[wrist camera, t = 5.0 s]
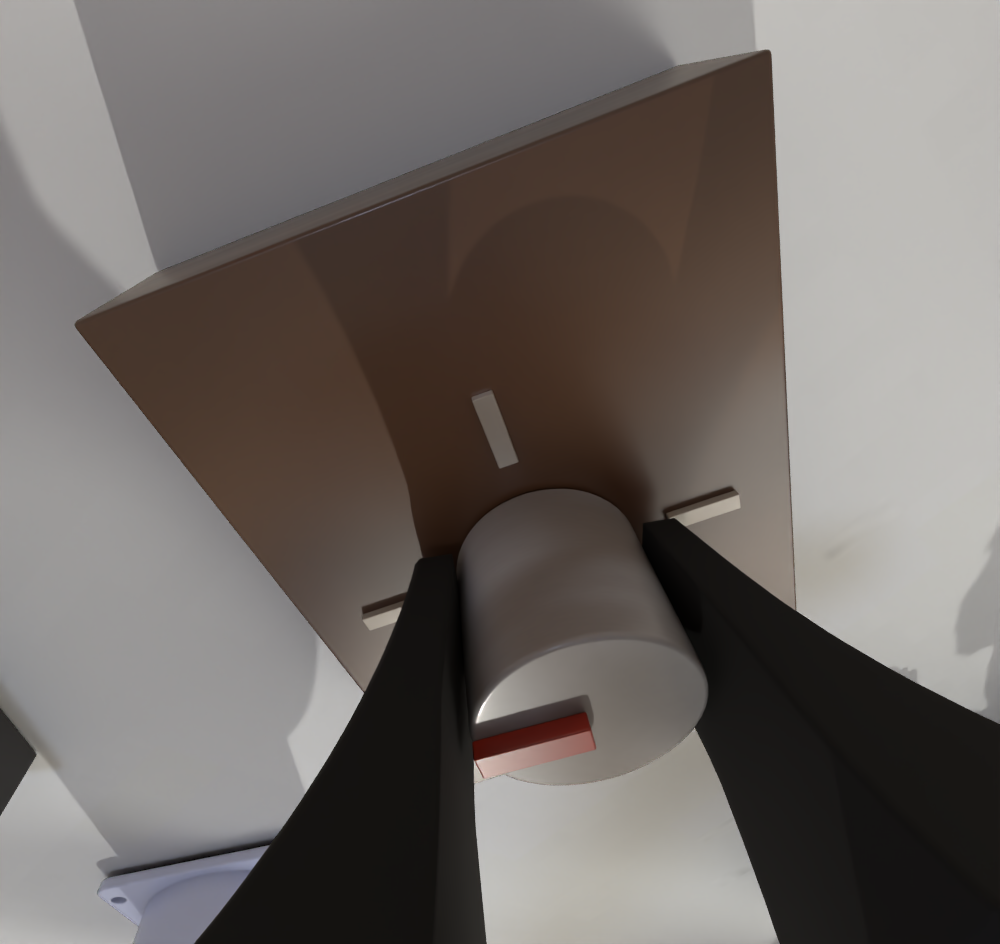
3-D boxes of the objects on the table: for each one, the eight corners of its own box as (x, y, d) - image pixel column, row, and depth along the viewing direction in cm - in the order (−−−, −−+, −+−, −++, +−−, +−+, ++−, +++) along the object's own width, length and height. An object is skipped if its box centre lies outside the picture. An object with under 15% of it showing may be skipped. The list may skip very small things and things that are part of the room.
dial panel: (745, 602, 17) (804, 690, 15) (439, 698, 18) (442, 800, 15) (680, 64, 10) (780, 45, 7) (155, 272, 10) (63, 328, 8)
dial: (622, 463, 10) (715, 623, 7) (644, 598, 12) (723, 771, 9) (432, 517, 10) (436, 699, 7) (483, 642, 12) (506, 828, 9)
